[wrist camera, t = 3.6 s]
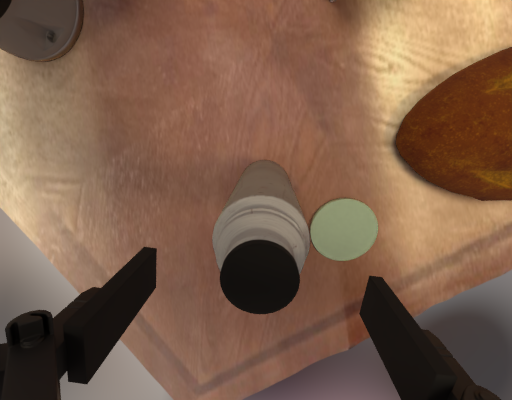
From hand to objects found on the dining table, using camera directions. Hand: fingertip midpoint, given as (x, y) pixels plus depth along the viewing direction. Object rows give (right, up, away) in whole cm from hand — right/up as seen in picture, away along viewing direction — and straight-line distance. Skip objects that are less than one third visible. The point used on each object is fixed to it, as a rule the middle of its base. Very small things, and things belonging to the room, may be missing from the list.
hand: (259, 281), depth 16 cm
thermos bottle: (+1, +8, +27) cm, 28 cm away
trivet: (+14, 0, +28) cm, 31 cm away
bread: (+36, +16, +23) cm, 46 cm away
